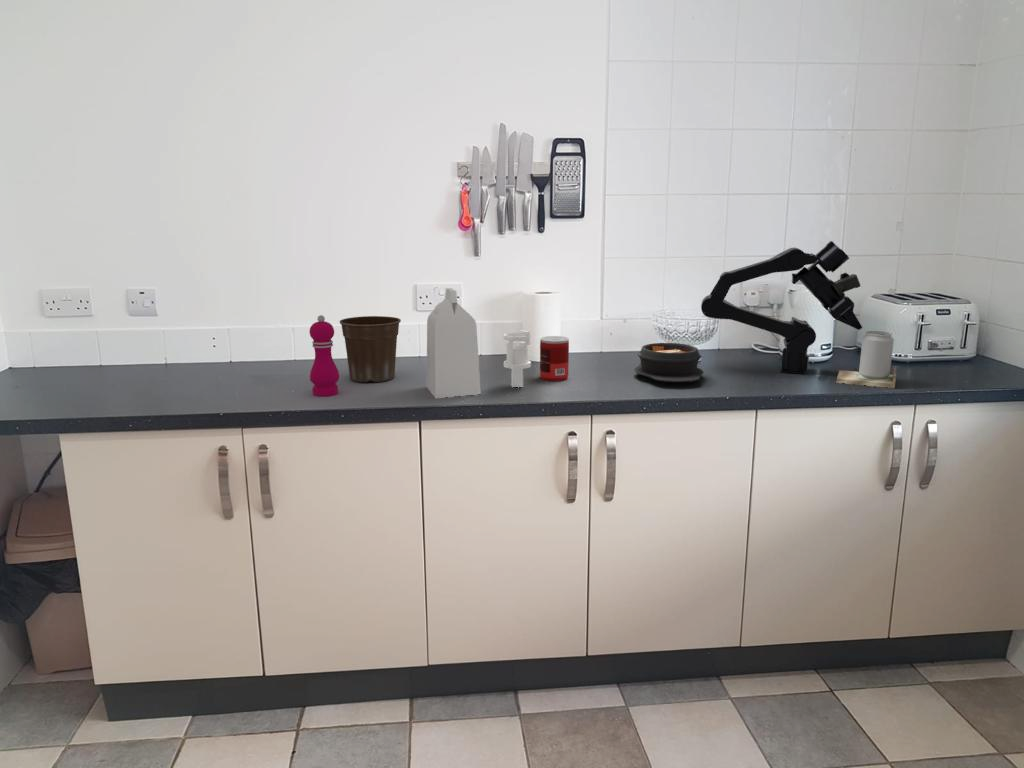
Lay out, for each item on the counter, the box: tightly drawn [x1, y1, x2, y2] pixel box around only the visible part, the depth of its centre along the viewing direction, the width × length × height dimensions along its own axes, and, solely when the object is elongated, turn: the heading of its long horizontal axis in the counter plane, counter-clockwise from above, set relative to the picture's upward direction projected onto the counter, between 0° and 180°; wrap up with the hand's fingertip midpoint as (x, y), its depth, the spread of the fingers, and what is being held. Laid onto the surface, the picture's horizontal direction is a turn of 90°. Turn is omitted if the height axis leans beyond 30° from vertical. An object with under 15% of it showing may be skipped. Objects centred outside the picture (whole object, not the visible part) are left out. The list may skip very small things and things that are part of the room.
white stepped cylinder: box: [503, 329, 532, 389], centre depth 206 cm, size 7×7×15 cm
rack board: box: [835, 367, 897, 389], centre depth 212 cm, size 14×11×3 cm
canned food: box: [539, 335, 570, 382], centre depth 216 cm, size 8×8×11 cm
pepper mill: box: [309, 314, 340, 397], centre depth 199 cm, size 7×7×20 cm
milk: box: [426, 287, 482, 399], centre depth 200 cm, size 12×12×26 cm
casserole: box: [634, 342, 704, 383], centre depth 216 cm, size 25×19×8 cm
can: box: [858, 330, 895, 379], centre depth 210 cm, size 8×8×12 cm
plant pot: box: [339, 315, 402, 383], centre depth 216 cm, size 16×16×16 cm
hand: (857, 325), depth 217 cm, fingers open, 9 cm apart
